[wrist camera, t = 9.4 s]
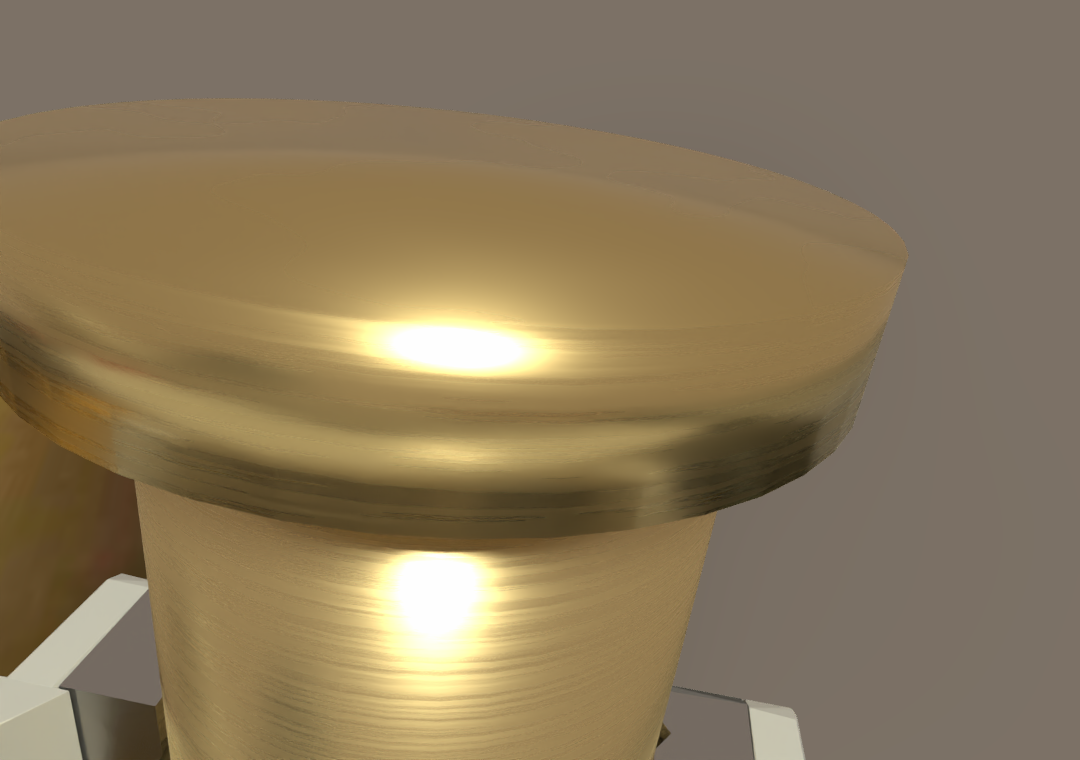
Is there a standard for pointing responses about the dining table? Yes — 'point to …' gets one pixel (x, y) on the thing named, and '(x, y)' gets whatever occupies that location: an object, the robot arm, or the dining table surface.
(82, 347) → the cover plug
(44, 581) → the dining table surface
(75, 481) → the dining table surface
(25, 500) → the dining table surface
